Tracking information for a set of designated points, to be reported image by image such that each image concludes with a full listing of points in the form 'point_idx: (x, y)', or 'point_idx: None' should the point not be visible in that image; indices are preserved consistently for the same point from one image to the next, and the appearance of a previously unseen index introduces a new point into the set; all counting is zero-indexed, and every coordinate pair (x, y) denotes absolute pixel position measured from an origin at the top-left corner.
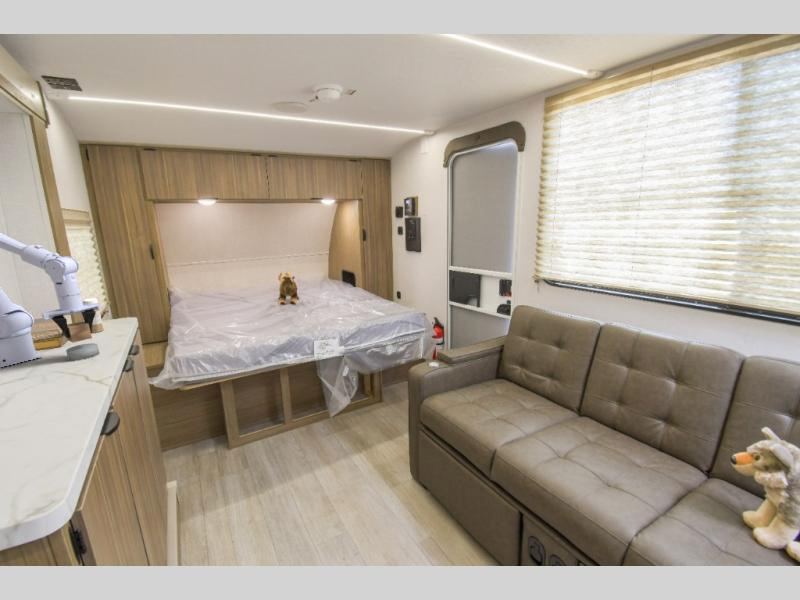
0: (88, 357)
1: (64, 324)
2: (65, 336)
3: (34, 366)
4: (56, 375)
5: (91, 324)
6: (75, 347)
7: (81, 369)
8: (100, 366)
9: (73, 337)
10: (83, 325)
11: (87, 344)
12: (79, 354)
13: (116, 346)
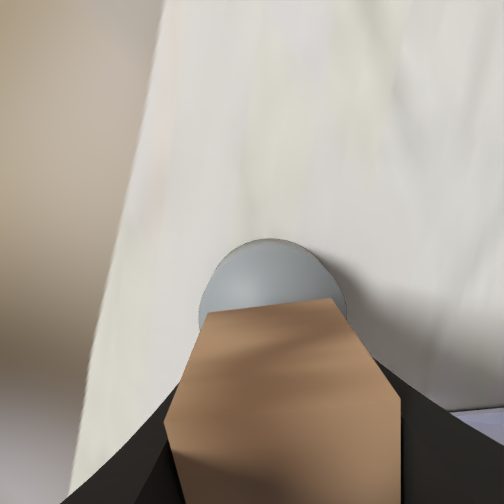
0: (261, 239)
1: (497, 481)
2: None
3: (448, 322)
4: (431, 64)
5: (144, 428)
6: None
7: (324, 56)
8: (243, 14)
9: (331, 319)
10: (227, 406)
11: None
12: (297, 250)
13: (133, 329)
